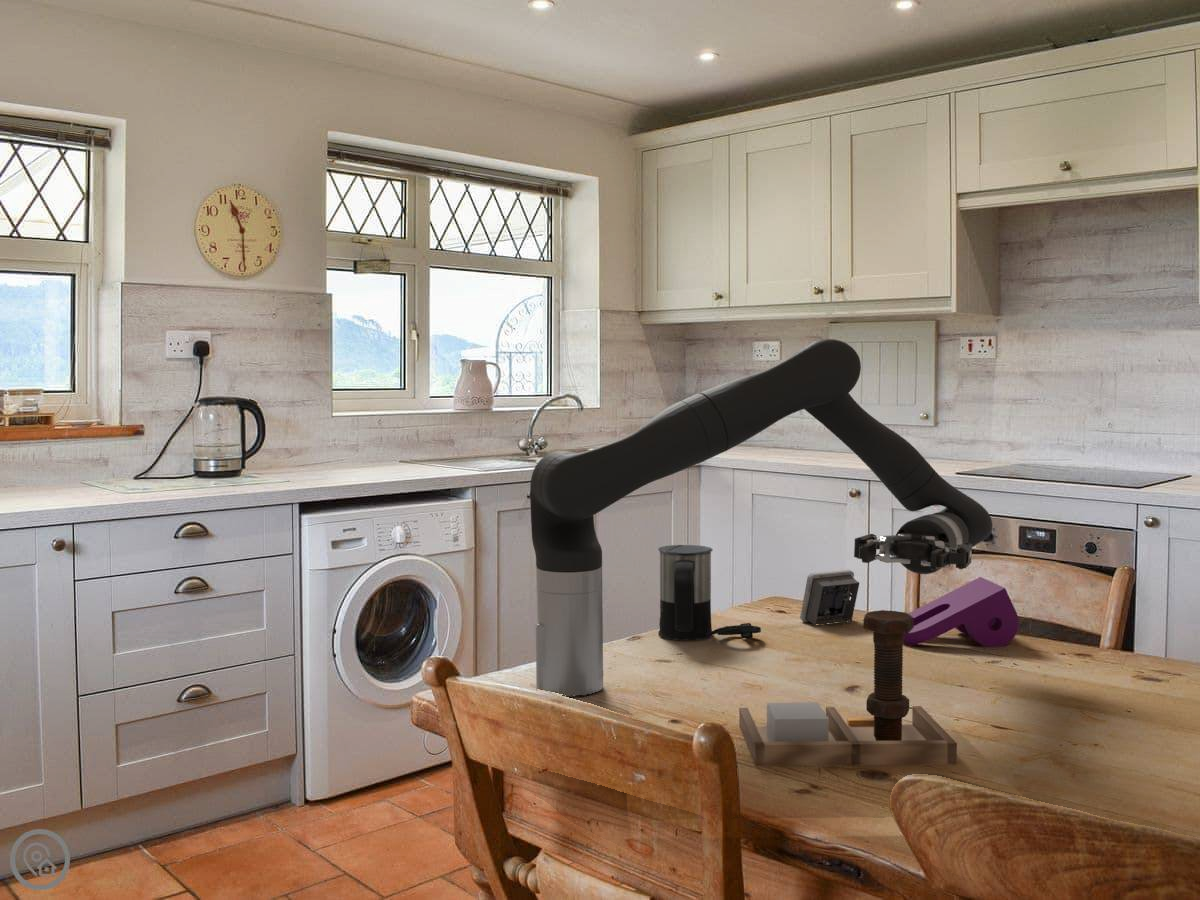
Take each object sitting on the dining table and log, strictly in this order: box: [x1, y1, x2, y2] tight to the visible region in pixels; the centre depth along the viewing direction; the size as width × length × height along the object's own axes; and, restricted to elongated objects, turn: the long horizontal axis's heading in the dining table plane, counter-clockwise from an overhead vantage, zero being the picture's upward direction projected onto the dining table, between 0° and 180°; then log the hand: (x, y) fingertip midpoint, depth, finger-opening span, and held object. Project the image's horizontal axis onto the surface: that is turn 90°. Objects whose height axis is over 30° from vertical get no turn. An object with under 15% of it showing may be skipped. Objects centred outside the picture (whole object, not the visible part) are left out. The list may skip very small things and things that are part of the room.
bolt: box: [862, 609, 914, 741], centre depth 123 cm, size 6×5×15 cm
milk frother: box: [658, 544, 762, 642], centre depth 177 cm, size 14×16×15 cm
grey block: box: [766, 701, 829, 742], centre depth 123 cm, size 6×6×4 cm
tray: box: [738, 705, 958, 767], centre depth 123 cm, size 22×14×4 cm, turn 90°
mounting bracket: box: [903, 576, 1020, 648], centre depth 175 cm, size 9×8×18 cm
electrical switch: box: [799, 569, 860, 626], centre depth 187 cm, size 9×5×9 cm, turn 113°
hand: (898, 558), depth 133 cm, fingers open, 8 cm apart
